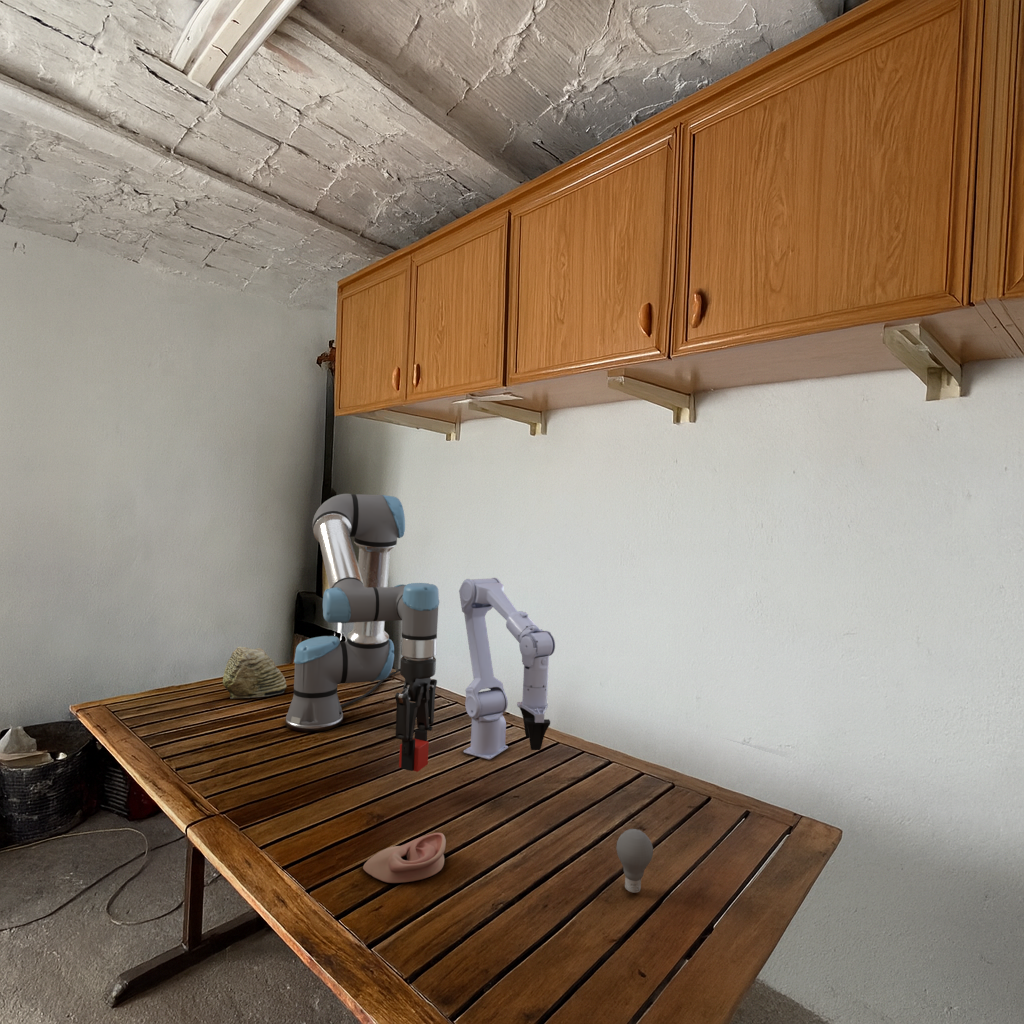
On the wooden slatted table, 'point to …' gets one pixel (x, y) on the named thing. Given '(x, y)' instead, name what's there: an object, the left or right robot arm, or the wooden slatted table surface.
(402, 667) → the left robot arm
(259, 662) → the fossil
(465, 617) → the right robot arm
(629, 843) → the light bulb
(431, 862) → the anatomical model
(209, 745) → the wooden slatted table surface
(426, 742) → the block
